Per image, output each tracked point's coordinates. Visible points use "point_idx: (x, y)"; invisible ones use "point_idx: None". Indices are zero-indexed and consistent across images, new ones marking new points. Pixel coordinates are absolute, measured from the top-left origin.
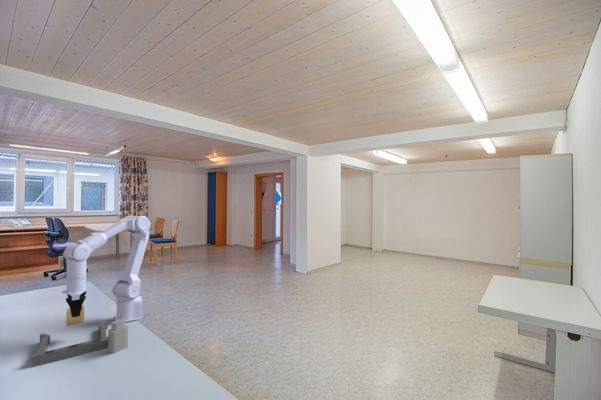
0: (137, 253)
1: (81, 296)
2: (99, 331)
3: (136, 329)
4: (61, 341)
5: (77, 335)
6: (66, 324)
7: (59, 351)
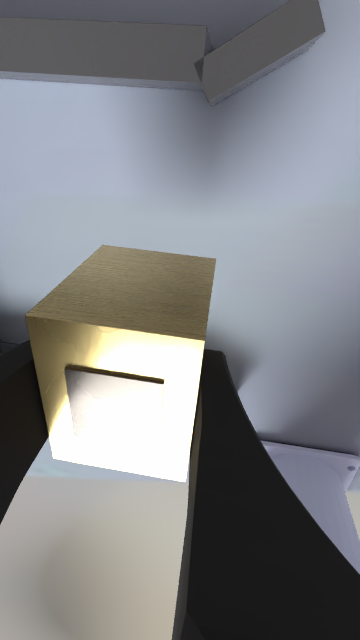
0: None
1: (172, 638)
2: None
3: None
4: (207, 182)
5: (242, 274)
6: (94, 252)
7: None
